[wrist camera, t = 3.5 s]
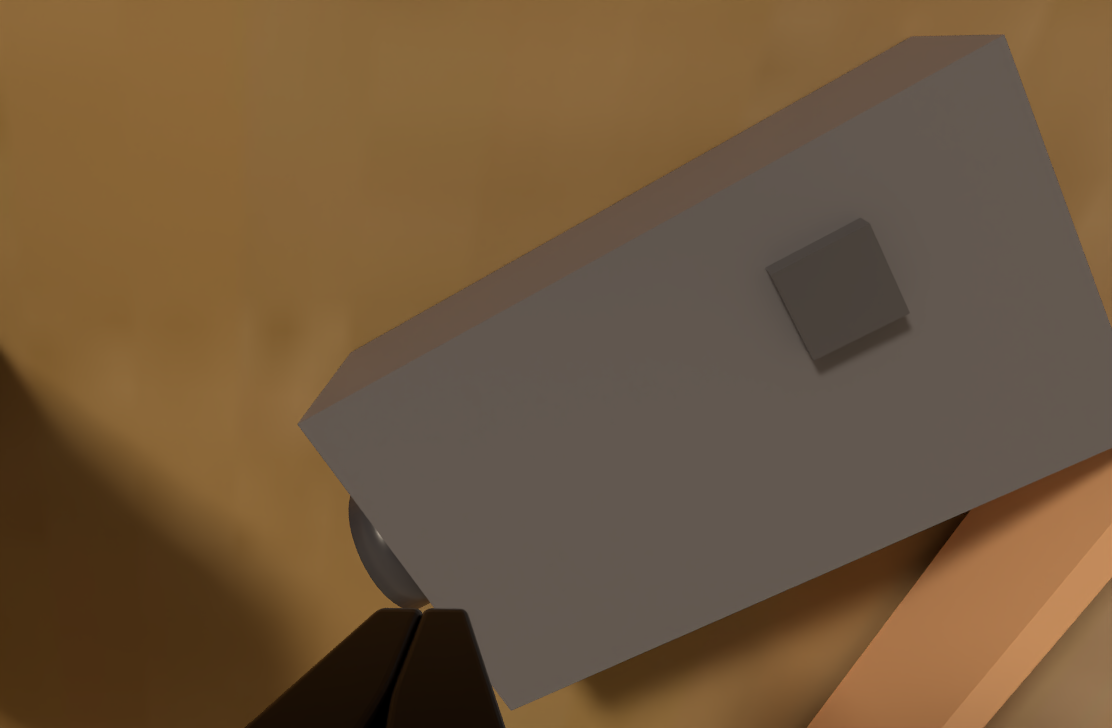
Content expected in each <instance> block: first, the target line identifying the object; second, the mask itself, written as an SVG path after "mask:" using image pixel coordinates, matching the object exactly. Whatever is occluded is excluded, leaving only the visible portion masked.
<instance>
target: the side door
mask: <svg viewBox="0 0 1112 728" xmlns="http://www.w3.org/2000/svg"><path fill="white" fill-rule="evenodd" d="M1111 578H1112V448H1111V449H1108V450H1106V451H1104V452H1101V453H1099V454H1097V455H1095V456H1092V457H1090V458H1088V459H1085V460H1083V461H1081V462H1079V463H1076V464H1074V465H1072V466H1069V467H1067V468H1065V469H1063V470H1060V471H1058V472H1056V473H1053V474H1051V475H1049V476H1047V477H1044V478H1042V479H1040V480H1037V481H1035V482H1033V483H1031V484H1028V485H1026V486H1024V487H1021V488H1019V489H1017V490H1015V491H1012V492H1010V493H1008V494H1005V495H1003V496H1001V497H999V498H996V499H994V500H992V501H989V502H987V503H985V504H983V505H980V506H978V507H976V508H973V509H971V510H970V511H969V513H968V514H967V515H966V517H965V518H964V519H963V521H962V522H961V523H960V525H959V526H958V527H957V529H956V530H955V531H954V533H953V534H952V535H951V537H950V538H949V539H948V541H947V542H946V543H945V545H944V546H943V547H942V549H941V550H940V551H939V553H938V554H937V555H936V557H935V558H934V559H933V561H932V562H931V563H930V565H929V566H928V567H927V569H926V570H925V571H924V573H923V574H922V575H921V576H920V578H919V579H918V580H917V582H916V583H915V584H914V586H913V587H912V588H911V590H910V591H909V592H908V594H907V595H906V596H905V598H904V599H903V600H902V602H901V603H900V604H899V606H898V607H897V608H896V610H895V611H894V612H893V614H892V615H891V616H890V618H889V619H888V620H887V622H886V623H885V624H884V626H883V627H882V628H881V630H880V631H879V632H878V634H877V635H876V636H875V638H874V639H873V640H872V642H871V643H870V644H869V646H868V647H867V648H866V650H865V651H864V652H863V654H862V655H861V656H860V658H859V659H858V660H857V662H856V663H855V664H854V666H853V667H852V668H851V670H850V671H849V672H848V674H847V675H846V676H845V678H844V679H843V680H842V681H841V683H840V684H839V685H838V687H837V688H836V689H835V691H834V692H833V693H832V695H831V696H830V697H829V699H828V700H827V701H826V703H825V704H824V705H823V707H822V708H821V709H820V711H819V712H818V713H817V715H816V716H815V717H814V719H813V720H812V721H811V723H810V724H809V725H808V727H807V728H983V727H984V726H985V725H986V724H987V723H988V722H989V720H990V719H991V718H992V717H993V716H994V715H995V713H996V712H997V711H998V710H999V709H1000V708H1001V706H1002V705H1003V704H1004V703H1005V702H1006V701H1007V699H1008V698H1009V697H1010V696H1011V695H1012V694H1013V692H1014V691H1015V690H1016V689H1017V688H1018V686H1019V685H1020V684H1021V683H1022V682H1023V681H1024V679H1025V678H1026V677H1027V676H1028V675H1029V674H1030V672H1031V671H1032V670H1033V669H1034V668H1035V667H1036V665H1037V664H1038V663H1039V662H1040V661H1041V660H1042V658H1043V657H1044V656H1045V655H1046V654H1047V653H1048V651H1049V650H1050V649H1051V648H1052V647H1053V646H1054V644H1055V643H1056V642H1057V641H1058V640H1059V638H1060V637H1061V636H1062V635H1063V634H1064V633H1065V631H1066V630H1067V629H1068V628H1069V627H1070V626H1071V624H1072V623H1073V622H1074V621H1075V620H1076V619H1077V617H1078V616H1079V615H1080V614H1081V613H1082V612H1083V610H1084V609H1085V608H1086V607H1087V606H1088V605H1089V603H1090V602H1091V601H1092V600H1093V599H1094V598H1095V596H1096V595H1097V594H1098V593H1099V592H1100V590H1101V589H1102V588H1103V587H1104V586H1105V585H1106V583H1107V582H1108V581H1109V580H1110V579H1111Z"/></svg>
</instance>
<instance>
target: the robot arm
mask: <svg viewBox="0 0 1112 728" xmlns="http://www.w3.org/2000/svg"><path fill="white" fill-rule="evenodd" d="M245 728H505V725H504V722H503V719H502V716H501V713H500V710H499V707H498V704H497V701H496V698H495V695H494V692H493V688H492V685H491V682H490V679H489V676H488V673H487V670H486V667H485V664H484V661H483V658H482V655H481V652H480V649H479V646H478V643H477V640H476V637H475V633H474V630H473V627H472V624H471V621H470V618H469V615H468V613H467V612H466V611H465V610H464V609H452V608H431V609H428V610H426V611H424V613H423V614H422V612H421V611H420V610H419V609H416V608H383V609H380V610H378V611H376V612H375V613H374V614H372V615H371V616H370V617H369V618H368V619H367V620H366V621H365V622H363V623H362V624H361V625H360V626H359V627H358V628H357V629H355V630H354V631H353V632H352V633H351V634H350V635H349V636H348V637H346V638H345V639H344V640H343V641H342V642H341V643H340V644H339V645H337V646H336V647H335V648H334V649H333V650H332V651H331V652H330V653H328V654H327V655H326V656H325V657H324V658H323V659H322V660H320V661H319V662H318V663H317V664H316V665H315V666H314V667H313V668H311V669H310V670H309V671H308V672H307V673H306V674H305V675H304V676H302V677H301V678H300V679H299V680H298V681H297V682H296V683H294V684H293V685H292V686H291V687H290V688H289V689H288V690H287V691H285V692H284V693H283V694H282V695H281V696H280V697H279V698H278V699H276V700H275V701H274V702H273V703H272V704H271V705H270V706H269V707H267V708H266V709H265V710H264V711H263V712H262V713H261V714H259V715H258V716H257V717H256V718H255V719H254V720H253V721H252V722H250V723H249V724H248V725H247V726H246V727H245Z"/></svg>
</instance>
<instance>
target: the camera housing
mask: <svg viewBox="0 0 1112 728" xmlns="http://www.w3.org/2000/svg"><path fill="white" fill-rule="evenodd" d="M298 426H299V427H300V428H301V430H302V431H303V432H304V434H305V435H306V436H307V438H308V439H309V440H310V442H311V443H312V444H313V446H314V447H315V448H316V450H317V451H318V452H319V454H320V455H321V456H322V458H323V459H324V460H325V462H326V463H327V465H328V466H329V467H330V469H331V470H332V471H333V473H334V474H335V475H336V477H337V478H338V479H339V481H340V482H341V483H342V485H343V486H344V487H345V489H346V490H347V491H348V493H349V494H350V495H351V496H350V500H349V522H350V528H351V533H352V536H353V540H354V543H355V546H356V549H357V552H358V554H359V556H360V559H361V561H362V563H363V565H364V567H365V569H366V570H367V572H368V574H369V575H370V577H371V578H372V580H373V581H374V583H375V584H376V585H377V587H378V588H379V589H380V590H381V591H382V593H383V594H384V595H385V596H386V597H387V598H389V599H390V600H391V601H392V602H393V603H395V604H397V605H398V606H400V607H402V608H416V609H419V608H421V607H423V606H425V605H427V604H429V603H431V604H432V605H433V607H434V608H452V609H464V610H465V611H466V612H467V613H468V615H469V618H470V621H471V624H472V627H473V630H474V633H475V637H476V640H477V643H478V646H479V649H480V652H481V655H482V658H483V661H484V664H485V667H486V670H487V673H488V676H489V679H490V682H491V685H492V686H493V687H494V689H495V690H496V691H497V693H498V694H499V695H500V697H501V698H502V699H503V701H504V702H505V703H506V705H507V706H508V707H509V709H510V710H514V709H516V708H518V707H521V706H523V705H525V704H527V703H530V702H532V701H534V700H537V699H539V698H541V697H543V696H546V695H548V694H550V693H553V692H555V691H557V690H559V689H562V688H564V687H566V686H569V685H571V684H573V683H575V682H578V681H580V680H582V679H585V678H587V677H589V676H591V675H594V674H596V673H598V672H601V671H603V670H605V669H607V668H610V667H612V666H614V665H617V664H619V663H621V662H623V661H626V660H628V659H630V658H633V657H635V656H637V655H640V654H642V653H644V652H646V651H649V650H651V649H653V648H656V647H658V646H660V645H662V644H665V643H667V642H669V641H672V640H674V639H676V638H678V637H681V636H683V635H685V634H688V633H690V632H692V631H694V630H697V629H699V628H701V627H704V626H706V625H708V624H710V623H713V622H715V621H717V620H720V619H722V618H724V617H726V616H729V615H731V614H733V613H736V612H738V611H740V610H742V609H745V608H747V607H749V606H752V605H754V604H756V603H758V602H761V601H763V600H765V599H768V598H770V597H772V596H774V595H777V594H779V593H781V592H784V591H786V590H788V589H790V588H793V587H795V586H797V585H800V584H802V583H804V582H806V581H809V580H811V579H813V578H816V577H818V576H820V575H822V574H825V573H827V572H829V571H832V570H834V569H836V568H838V567H841V566H843V565H845V564H848V563H850V562H852V561H854V560H857V559H859V558H861V557H864V556H866V555H868V554H870V553H873V552H875V551H877V550H880V549H882V548H884V547H886V546H889V545H891V544H893V543H896V542H898V541H900V540H902V539H905V538H907V537H909V536H912V535H914V534H916V533H918V532H921V531H923V530H925V529H928V528H930V527H932V526H935V525H937V524H939V523H941V522H944V521H946V520H948V519H951V518H953V517H955V516H957V515H960V514H962V513H964V512H967V511H969V510H971V509H973V508H976V507H978V506H980V505H983V504H985V503H987V502H989V501H992V500H994V499H996V498H999V497H1001V496H1003V495H1005V494H1008V493H1010V492H1012V491H1015V490H1017V489H1019V488H1021V487H1024V486H1026V485H1028V484H1031V483H1033V482H1035V481H1037V480H1040V479H1042V478H1044V477H1047V476H1049V475H1051V474H1053V473H1056V472H1058V471H1060V470H1063V469H1065V468H1067V467H1069V466H1072V465H1074V464H1076V463H1079V462H1081V461H1083V460H1085V459H1088V458H1090V457H1092V456H1095V455H1097V454H1099V453H1101V452H1104V451H1106V450H1108V449H1111V448H1112V328H1111V326H1110V323H1109V320H1108V317H1107V315H1106V312H1105V309H1104V306H1103V304H1102V301H1101V298H1100V295H1099V293H1098V290H1097V287H1096V285H1095V282H1094V279H1093V276H1092V274H1091V271H1090V268H1089V265H1088V263H1087V260H1086V257H1085V254H1084V252H1083V249H1082V246H1081V243H1080V241H1079V238H1078V235H1077V233H1076V230H1075V227H1074V224H1073V222H1072V219H1071V216H1070V213H1069V211H1068V208H1067V205H1066V202H1065V200H1064V197H1063V194H1062V191H1061V189H1060V186H1059V183H1058V181H1057V178H1056V175H1055V172H1054V170H1053V167H1052V164H1051V161H1050V159H1049V156H1048V153H1047V150H1046V148H1045V145H1044V142H1043V139H1042V137H1041V134H1040V131H1039V129H1038V126H1037V123H1036V120H1035V118H1034V115H1033V112H1032V109H1031V107H1030V104H1029V101H1028V98H1027V96H1026V93H1025V90H1024V87H1023V85H1022V82H1021V79H1020V77H1019V74H1018V71H1017V68H1016V66H1015V63H1014V60H1013V57H1012V55H1011V52H1010V49H1009V46H1008V44H1007V41H1006V38H1005V35H961V36H915V37H910V38H908V39H906V40H905V41H903V42H901V43H899V44H897V45H896V46H894V47H892V48H890V49H889V50H887V51H885V52H883V53H882V54H880V55H878V56H876V57H874V58H873V59H871V60H869V61H867V62H866V63H864V64H862V65H860V66H858V67H857V68H855V69H853V70H851V71H850V72H848V73H846V74H844V75H842V76H841V77H839V78H837V79H835V80H834V81H832V82H830V83H828V84H827V85H825V86H823V87H821V88H819V89H818V90H816V91H814V92H812V93H811V94H809V95H807V96H805V97H803V98H802V99H800V100H798V101H796V102H795V103H793V104H791V105H789V106H787V107H786V108H784V109H782V110H780V111H779V112H777V113H775V114H773V115H772V116H770V117H768V118H766V119H764V120H763V121H761V122H759V123H757V124H756V125H754V126H752V127H750V128H748V129H747V130H745V131H743V132H741V133H740V134H738V135H736V136H734V137H733V138H731V139H729V140H727V141H725V142H724V143H722V144H720V145H718V146H717V147H715V148H713V149H711V150H709V151H708V152H706V153H704V154H702V155H701V156H699V157H697V158H695V159H693V160H692V161H690V162H688V163H686V164H685V165H683V166H681V167H679V168H678V169H676V170H674V171H672V172H670V173H669V174H667V175H665V176H663V177H662V178H660V179H658V180H656V181H654V182H653V183H651V184H649V185H647V186H646V187H644V188H642V189H640V190H638V191H637V192H635V193H633V194H631V195H630V196H628V197H626V198H624V199H623V200H621V201H619V202H617V203H615V204H614V205H612V206H610V207H608V208H607V209H605V210H603V211H601V212H599V213H598V214H596V215H594V216H592V217H591V218H589V219H587V220H585V221H583V222H582V223H580V224H578V225H576V226H575V227H573V228H571V229H569V230H568V231H566V232H564V233H562V234H560V235H559V236H557V237H555V238H553V239H552V240H550V241H548V242H546V243H544V244H543V245H541V246H539V247H537V248H536V249H534V250H532V251H530V252H528V253H527V254H525V255H523V256H521V257H520V258H518V259H516V260H514V261H513V262H511V263H509V264H507V265H505V266H504V267H502V268H500V269H498V270H497V271H495V272H493V273H491V274H489V275H488V276H486V277H484V278H482V279H481V280H479V281H477V282H475V283H473V284H472V285H470V286H468V287H466V288H465V289H463V290H461V291H459V292H458V293H456V294H454V295H452V296H450V297H449V298H447V299H445V300H443V301H442V302H440V303H438V304H436V305H434V306H433V307H431V308H429V309H427V310H426V311H424V312H422V313H420V314H418V315H417V316H415V317H413V318H411V319H410V320H408V321H406V322H404V323H403V324H401V325H399V326H397V327H395V328H394V329H392V330H390V331H388V332H387V333H385V334H383V335H381V336H379V337H378V338H376V339H374V340H372V341H371V342H369V343H367V344H365V345H363V346H362V347H360V348H358V349H356V350H355V351H353V352H351V353H350V354H349V356H348V357H347V358H346V360H345V361H344V362H343V364H342V365H341V366H340V368H339V369H338V370H337V372H336V373H335V374H334V376H333V377H332V378H331V380H330V381H329V383H328V384H327V385H326V387H325V388H324V389H323V391H322V392H321V393H320V395H319V396H318V397H317V399H316V400H315V401H314V403H313V404H312V405H311V407H310V408H309V409H308V411H307V412H306V413H305V415H304V416H303V417H302V419H301V420H300V421H299V423H298Z"/></svg>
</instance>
